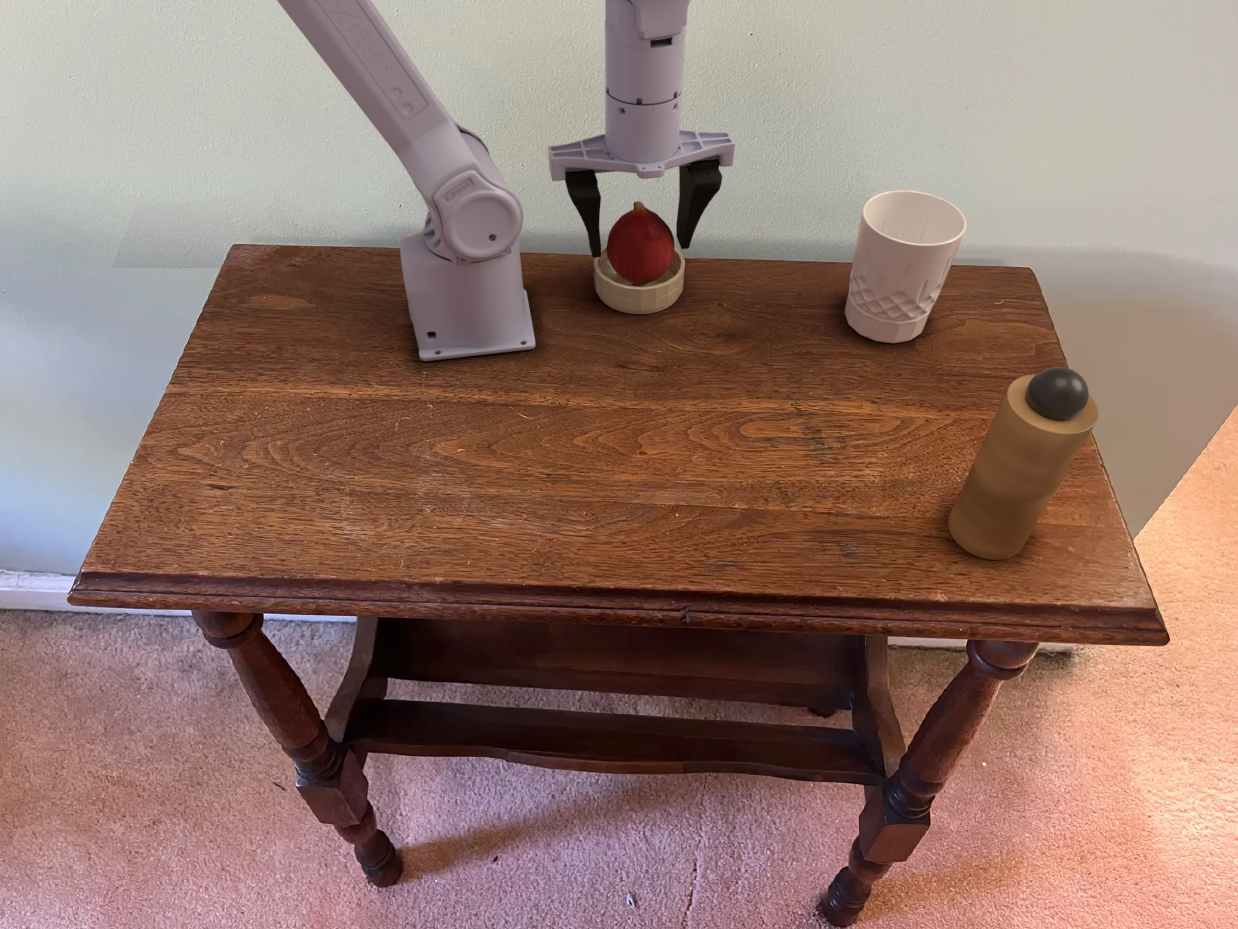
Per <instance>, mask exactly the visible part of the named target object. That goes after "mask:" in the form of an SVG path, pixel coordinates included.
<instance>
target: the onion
mask: <svg viewBox="0 0 1238 929" xmlns="http://www.w3.org/2000/svg"><path fill="white" fill-rule="evenodd" d="M632 205H633V208H632V209H631V210H629V211H627V212H625V213H624V214H622V215H621V216H620V217H619V218H618V219H617V220H616V221H615V223H614V224H613V225H612V227H611V229H610V230H609V233H608V237H607V243H606V245H607V247H606V251H607V257H608V259H609V262H610V264H611V266H612V267H613V269H614V270H615V271H616V272H617V273H618V274H619V275H620V276H621V277H622V278H624V279H626V280H628V281H630V282H631V283H633V284H635V285H638V286H639V285H643V284H647V283H650V282H652V281H655V280H656V279H658V278H659V277H661V276H662V275H663V274H664V273H665V272H666V271H667V270H668V268H669V267H670V265H671V264H672V260H673V255H674V247H676V246H675V237H674V235H673V232H672V230H671V227H669V225H668V224H667V223H666V222H665V221H664V219H662V218H661V217H660V215H658V213H656V212H655V211H652V210H651V209H649V208H647V207H646V206H645V205H644V202H642V201H637V200H636V201H634V202H633V204H632Z"/></svg>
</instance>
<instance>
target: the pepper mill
mask: <svg viewBox="0 0 1238 929" xmlns="http://www.w3.org/2000/svg"><path fill="white" fill-rule="evenodd" d="M1089 392H1090V391H1089V387H1088V385H1087V382H1086V380H1085V378H1084V377H1083V376H1082V375H1081V374H1080V373H1078V372H1077V371H1075V370H1074V369H1072V368H1068V367H1064V366H1053V367H1048V368H1045V369H1043V370H1041V371H1039V372H1038V373H1033V374H1027V375H1023V376H1021V377H1018V378H1016V379H1015V380H1013V381H1012V382H1011V383H1010V384H1009V386H1008V388H1007V390H1006V392H1005V394H1004V397H1003V398H1002V401H1001V403H1000V405H999V407H998V409H997V412H996V414H995V415H994V417H993V420H992V422H991V424H990V427H989V429H988V431H987V433H986V435H985V438H984V439H983V442H982V444H981V446H980V448H979V451H978V453H977V455H976V456H975V459H974V461H973V463H972V464H971V465H972V466H971V467H970V470H969V471H968V474H967V476H966V479H965V481H964V483H963V485H962V487H961V489H960V492H959V494H958V496H957V497H956V500H955V502H954V505H953V506H952V509H951V511H950V513H949V515H948V518H947V527H948V528H947V529H948V530H949V531H948V532H949V533H950V535H951V537H952V539H953V540H954V541H955V543H956V544H957V545H958V546H959V547H961V549H963V551H964V550H965V551H966V552H967V553H969V554H970V555H973V556H976V557H978V558H981V559H984V560H990V561H1003V560H1004V561H1005V560H1007V559H1010V558H1012V557H1015V556H1016V555H1017V554H1019V553H1020V552H1021V550H1022V549H1023V547H1024V545H1025V544H1026V542H1027V540H1028V538H1030V535H1031V534H1032V532H1033V530H1034V529H1035V527H1036V525H1037V523H1038V522H1039V520H1040V519H1041V517H1042V515H1043V513H1044V512H1045V510H1046V508H1047V507H1048V505H1049V503H1050V502H1051V500H1052V499H1053V497H1054V495H1055V494H1056V491H1057V490H1058V488H1059V487H1060V485H1061V483H1062V481H1063V479H1064V478H1065V476H1066V474H1067V473H1068V471H1069V469H1070V468H1071V466H1072V464H1073V463H1074V462H1075V459H1076V458H1077V456H1078V454H1079V453H1080V451H1081V449H1082V448H1083V445H1085V442H1086V441H1087V439H1088V437H1089V436H1090V434H1091V432H1092V431H1093V429H1094V427H1095V425H1096V424H1097V422H1098V420H1099V409H1098V405H1097V403H1096V402H1095V400H1094V399H1093V397H1092V396H1091V395H1090V394H1089Z"/></svg>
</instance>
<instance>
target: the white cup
mask: <svg viewBox="0 0 1238 929" xmlns="http://www.w3.org/2000/svg"><path fill="white" fill-rule="evenodd" d="M967 226H968V224H967V218H966V217H965V215H964V213H963V212H962V211H961V210H960V209H959V207H957V206H956V205H955V204H953V203H952V202H950V201H949V200H946V199H945V198H942V197H940V196H937V195H934V194H931V193H928V192H923V191H919V190H910V189H909V190H907V189H906V190H904V189H898V190H896V189H895V190H888V191H883V192H880V193H878V194H875V195H873V196H871V197H870V198H868V199H867V200H866V202H865V203H864V204H863V207H862V209H861V214H860V221H859V226H858V230H857V236H856V241H855V246H854V251H853V256H852V263H851V271H850V275H849V283H848V284H849V285H848V294H847V298H846V304H845V307H844V316H845V318H846V322H847V324H848V326H850V328H852V329H853V330H854V331H855V332H856V333H857V334H859V335H861V336H862V337H865V338H867V339H870V340H872V341H874V342H880V343H887V344H888V343H889V344H898V343H905V342H909V341H911V340H913V339H915V338H916V337H918V336H919V335H920V334H922V333H923V330H924V328H925V326H926V323H927V320H928V318H929V315H930V313H931V311H932V309H933V307H934V305H935V304H936V302H937V299H938V298H939V296H940V294H941V291H942V289H943V287H944V284H945V282H946V279H947V277H948V274H949V272H950V270H951V267H952V265H953V262H954V260H955V258H956V254H957V252H958V249H959V247H960V245H961V241H962V240H963V238H964V235H965V233H966V231H967Z"/></svg>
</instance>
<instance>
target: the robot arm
mask: <svg viewBox="0 0 1238 929" xmlns="http://www.w3.org/2000/svg"><path fill="white" fill-rule="evenodd" d="M691 1H692V0H605V1H604V3H605V4H604V8H605V9H604V10H605V12H604V14H605V15H604V16H605V17H604V60H605V61H604V102H605V103H604V130H605V132H604V133H602V134H599V135H595V136H591V137H588V138H587V137H586V138H584V139H580V140H576V141H573V142H568V143H564V144H558V145H548V147H547V152H548V169H549V174H550V177H551V181H552V182H561V181H564V182H565V186H566V189H567V193H568V196H569V198H570V200H571V202H572V204H573V206H574V207H575V209H576V210H577V212H578V214H579V216H580V218H581V221H582V222H583V225H584V227H585V230H586V233H587V237H588V238H587V239H588V246H589V250H590V253H591V257H592V258H593V259H595V258H596V257H601V248H602V242H601V232H600V219H601V218H600V217H601V215H600V214H601V202H602V196H601V193H600V189H599V181H598V177H597V176H596V174H602V173H604V174H605V173H615V172H617V173H618V172H620V173H630V174H636V176H637V178H639V179H643V180H644V179H645V180H648V179H657V178H658V179H659V178H663V177H664V176H665V171H667V170H670V169H673V168H677V167H678V175H679V176H678V180H679V182H678V183H679V184H678V185H679V186H678V188H679V191H678V192H679V195H678V204H677V205H678V207H677V215H676V226H675V227H676V228H675V231H676V239H677V241H678V244H679V247H680V249H681V250H687V249H690V246H691V243H692V240H693V236H694V234H695V231H696V229H697V227H698V224H699V221H700V220H701V217H702V215H703V214H704V212H705V210H706V208H707V207H708V206H709V204H710V202H711V201H712V200H713V199H714V197H715V195H717V193H719V191H720V189H721V186H722V184H723V174H722V173H721V170H720V167H722V168H725V167H726V168H727V167H733V165H734V157H735V150H736V142H735V141H734V139H733V137H732V135H731V134H730V131H720V132H719V131H717V132H715V131H699V130H689V129H688V130H687V129H681V117H682V116H681V115H682V99H683V98H682V97H683V83H684V81H683V80H684V64H685V50H686V49H685V47H686V34H687V23H688V12H689V5H690V3H691ZM276 2H278V4H279V5H280V6H281V8H282V9H283V11H284V12H285V13H286V14H287V15H288V17H289V19H290V20H292V22H293V24H295V26H296V27H297V28H298V30H299V31H300V32H301V33H302V35H303V36H304V38H305V39H306V41H307V42H309V44H310V45H311V46H312V48H313V49H314V50H315V52H316V53H317V54H318V55H319V57H320V58H321V60H322V61H323V62H324V63H325V65H326V66H327V67H328V68H329V70H330V71H331V73H333V75H334V76H335V77H336V79H337V80H338V81H339V83H340V84H341V86H343V88H344V89H345V90H346V92H347V93H348V94H349V95H350V97H351V98H352V100H353V101H354V102H355V103H356V105H357V106H358V107H359V108H360V110H361V111H362V112H363V114H364V115H365V116H366V117H367V118H368V120H369V121H370V122H371V124H372V125H373V126H374V128H375V129H376V130H377V132H378V133H379V134H380V136H381V137H382V138H383V139H384V141H385V142H386V143H387V145H388V146H389V147H390V148H391V150H392V151H393V153H394V154H395V155H396V156H397V158H398V159H399V161H400V162H401V165H402V166H403V167H404V169H405V171H406V172H407V174H408V175H409V177H410V179H411V180H412V183H413V184H414V186H415V188H416V189H417V191H418V192H419V194H420V196H421V197H422V199H423V202H424V204H425V205H426V207H427V215H426V218H425V221H424V227H423V229H422V230H421V231H420V232H417V233H414V234H411V235H407V236H403V237H401V238H399V252H400V253H399V254H400V263H401V269H402V271H401V272H402V276H403V283H404V290H405V294H406V299H407V303H408V304H407V305H408V306H407V307H408V313H409V319H410V322H411V323H412V325H413V329H414V330H413V331H414V334H415V338H416V343H417V347H418V348H417V349H418V356H419V359H420V361H423V362H431V361H438V360H440V361H441V360H449V359H457V358H466V357H473V356H484V355H493V354H501V353H509V352H510V353H511V352H519V351H529V350H532V349H535V347H536V344H537V343H536V338H535V333H534V332H535V331H534V326H533V320H532V315H531V311H530V304H529V297H528V293H527V290H526V289H525V288H524V281H523V280H524V279H523V270H522V260H521V252H520V251H521V250H520V239H519V237H520V234H521V232H522V229H523V227H524V221H525V220H524V218H525V217H524V208H523V205H522V202H521V200H520V199H519V198H520V197H519V196H518V195H517V193H516V192H514V190H513V189H512V188H511V187H510V186H509V185H508V183H507V181H506V180H505V178H504V176H503V175H502V173H501V171H500V170H499V168H498V167H497V165H496V164H495V162H494V160H493V159H492V157H491V154H490V152H489V151H490V150H489V149H488V147H487V145H486V144H485V142H484V140H483V139H482V138H481V137H480V136H479V135H477V133H475V132H474V131H472V130H470V129H468V128H466V127H464V126H462V125H461V124H459V123H458V121H456V120H455V119H454V118H453V117H452V115H451V114H450V112H449V111H448V110H447V108H446V107H445V105H444V104H443V103H442V102H441V101H440V100H439V98H438V96H437V95H436V94H435V93H434V91H433V89H432V88H431V87H430V85H429V84H428V82H427V80H426V79H425V78H424V76H423V75H422V73H421V72H420V70H419V69H418V67H417V65H416V64H415V63H414V62H413V60H412V59H411V57H410V55H409V54H408V53H407V51H406V50H405V48H404V47H403V45H402V44H401V42H400V41H399V40H398V38H397V36H396V35H395V33H394V32H393V30H392V29H391V28H390V26H389V25H388V23H387V22H386V20H385V19H384V17H383V16H382V15H381V13H380V11H379V10H378V9H377V7H376V6H375V4H374V3H373V1H372V0H276Z"/></svg>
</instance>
